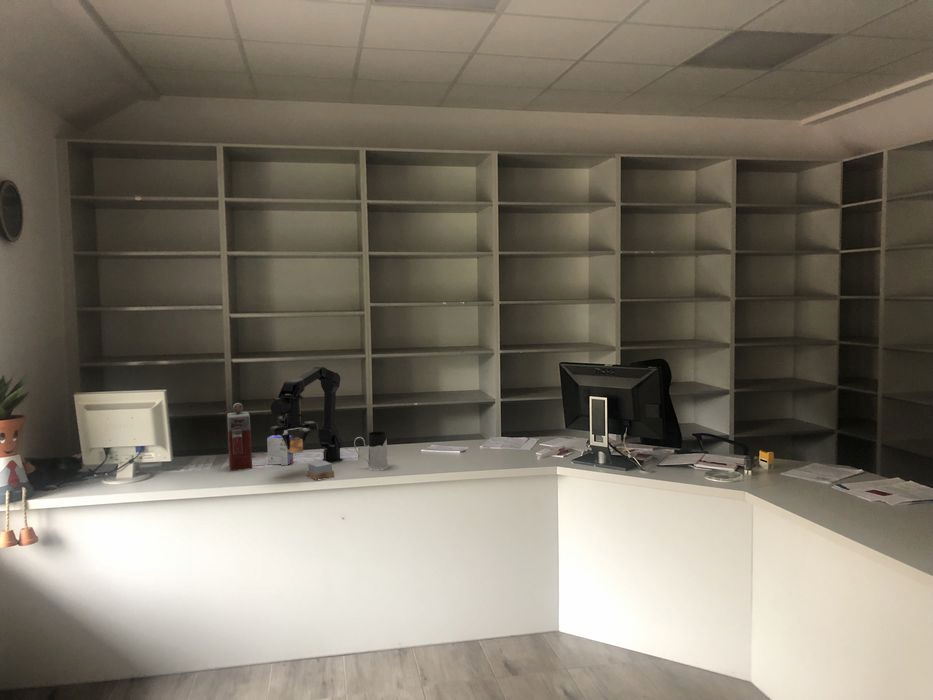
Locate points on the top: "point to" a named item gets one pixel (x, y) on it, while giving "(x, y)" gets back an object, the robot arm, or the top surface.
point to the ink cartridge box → (278, 451)
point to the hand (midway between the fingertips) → (294, 448)
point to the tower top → (320, 467)
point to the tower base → (320, 475)
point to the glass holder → (376, 450)
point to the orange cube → (295, 445)
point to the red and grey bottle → (239, 438)
